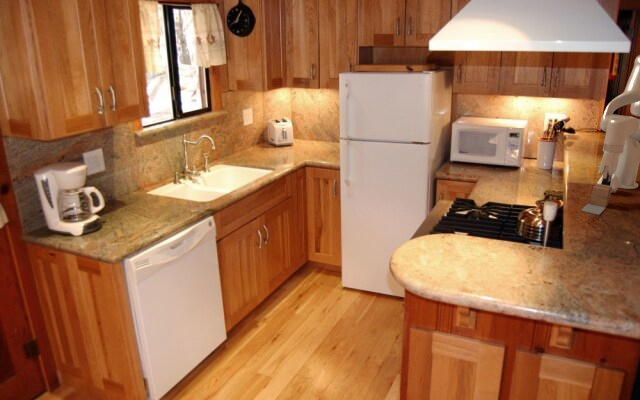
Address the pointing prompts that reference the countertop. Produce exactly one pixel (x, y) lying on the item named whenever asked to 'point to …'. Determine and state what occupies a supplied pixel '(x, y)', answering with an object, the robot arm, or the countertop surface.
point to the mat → (593, 209)
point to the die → (612, 183)
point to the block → (600, 195)
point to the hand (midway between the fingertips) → (604, 189)
